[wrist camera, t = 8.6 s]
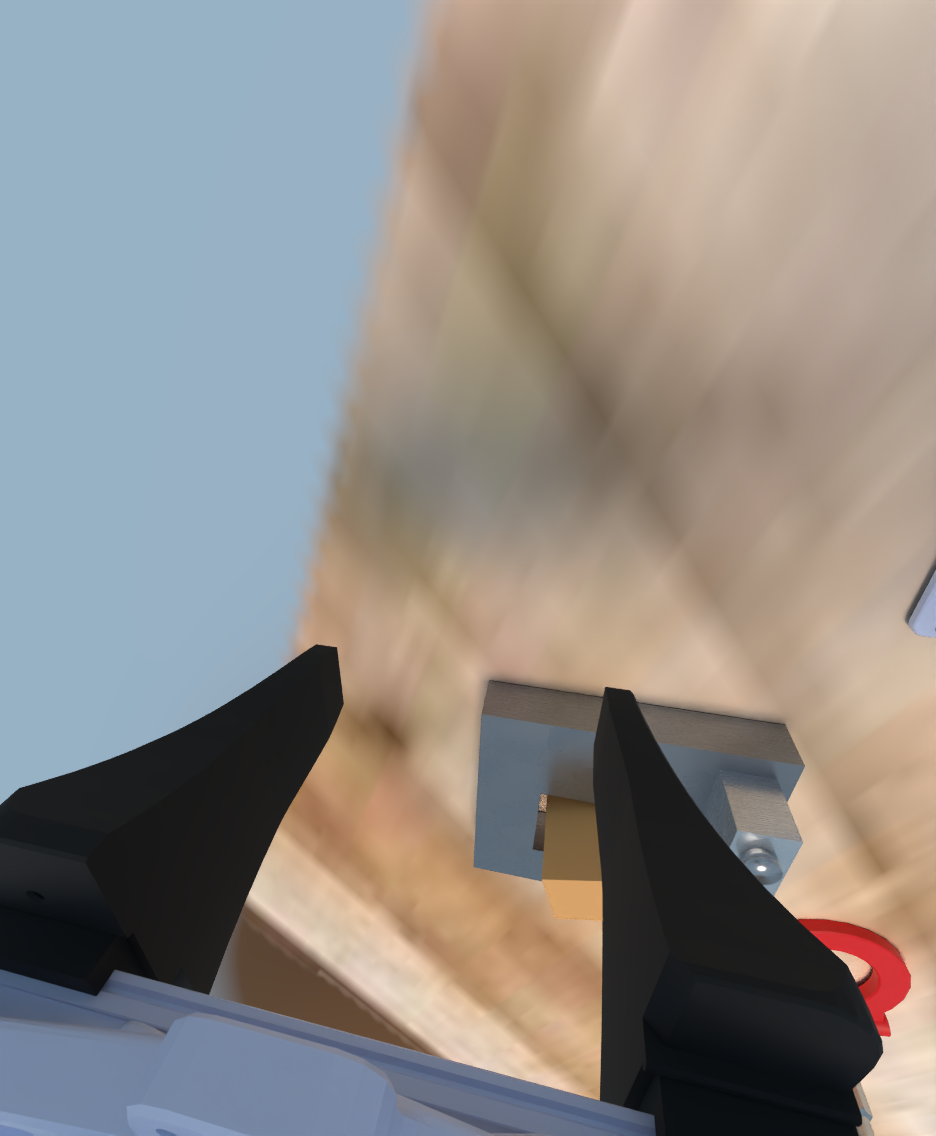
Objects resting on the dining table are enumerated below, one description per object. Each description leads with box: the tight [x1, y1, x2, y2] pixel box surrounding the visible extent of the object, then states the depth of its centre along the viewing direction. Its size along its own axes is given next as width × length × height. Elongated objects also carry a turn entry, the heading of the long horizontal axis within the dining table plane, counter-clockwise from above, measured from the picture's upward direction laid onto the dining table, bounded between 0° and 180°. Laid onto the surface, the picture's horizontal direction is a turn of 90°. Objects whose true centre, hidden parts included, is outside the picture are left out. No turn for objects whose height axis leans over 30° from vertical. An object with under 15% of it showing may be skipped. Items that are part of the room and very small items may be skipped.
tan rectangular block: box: [542, 795, 603, 921], centre depth 26 cm, size 3×3×6 cm
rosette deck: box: [474, 681, 805, 896], centre depth 25 cm, size 14×12×6 cm
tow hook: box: [798, 919, 911, 1136], centre depth 26 cm, size 9×14×10 cm
